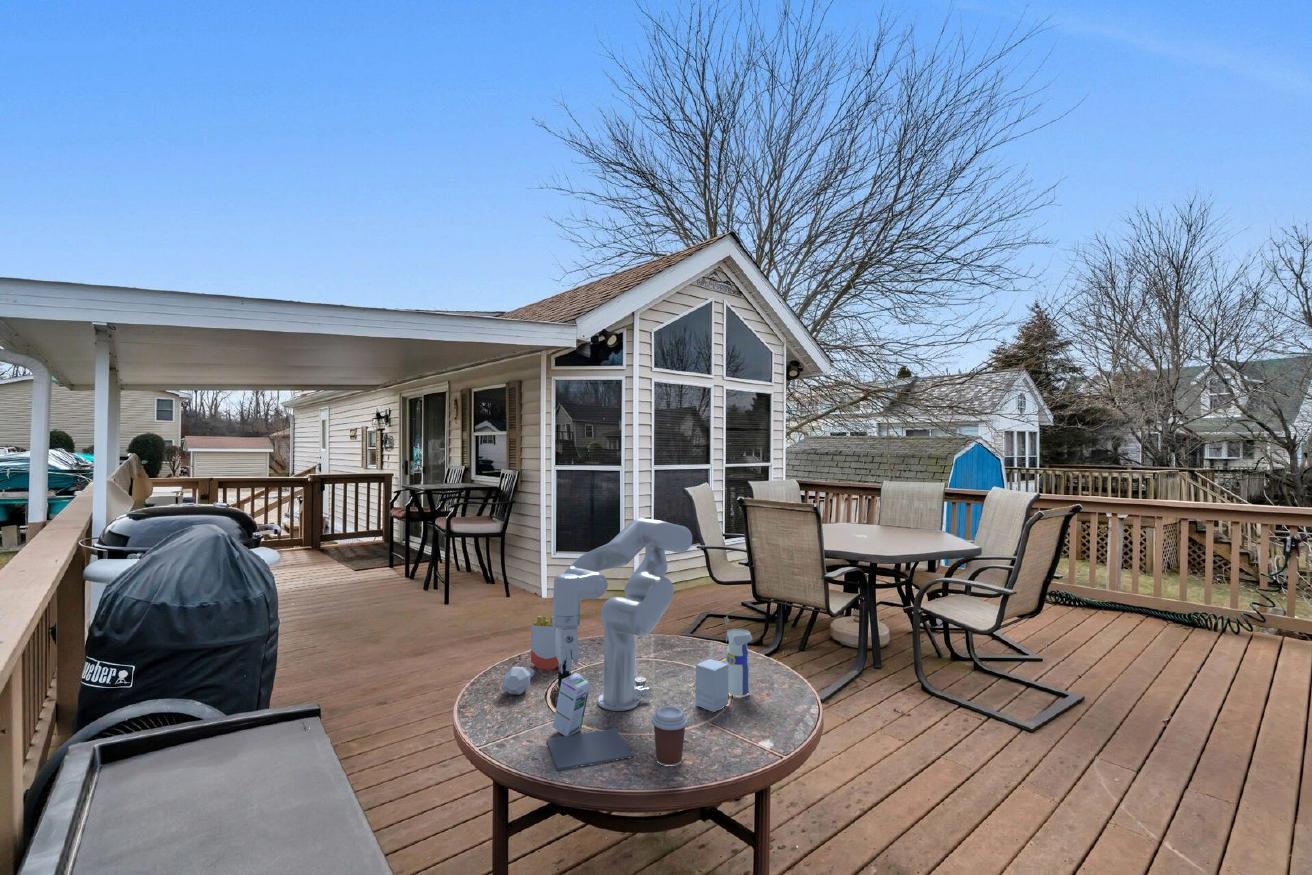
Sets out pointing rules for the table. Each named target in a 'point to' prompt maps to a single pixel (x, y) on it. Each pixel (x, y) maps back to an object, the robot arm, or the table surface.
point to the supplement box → (711, 684)
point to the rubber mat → (588, 748)
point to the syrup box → (571, 704)
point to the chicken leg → (517, 680)
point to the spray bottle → (738, 660)
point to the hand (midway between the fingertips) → (564, 686)
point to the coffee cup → (669, 734)
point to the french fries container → (543, 644)
